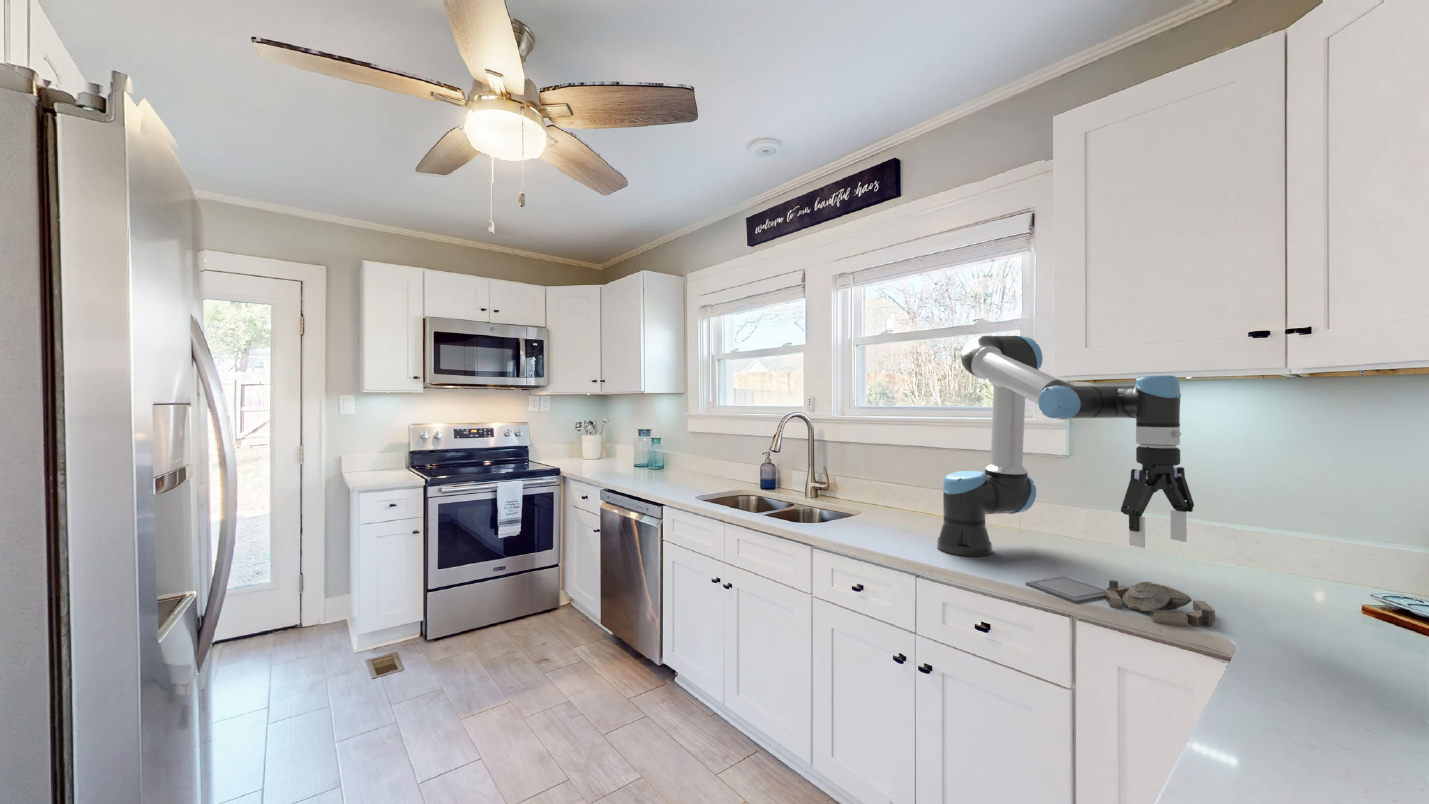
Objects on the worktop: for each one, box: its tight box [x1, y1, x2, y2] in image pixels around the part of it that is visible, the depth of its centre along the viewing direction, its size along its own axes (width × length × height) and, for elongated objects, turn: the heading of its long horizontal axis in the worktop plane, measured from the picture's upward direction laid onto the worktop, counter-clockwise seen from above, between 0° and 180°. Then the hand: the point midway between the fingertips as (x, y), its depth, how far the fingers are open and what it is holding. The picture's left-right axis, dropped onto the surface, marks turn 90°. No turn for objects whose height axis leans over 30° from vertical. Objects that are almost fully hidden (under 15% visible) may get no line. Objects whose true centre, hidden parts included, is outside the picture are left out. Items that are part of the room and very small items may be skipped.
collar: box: [1104, 579, 1216, 628], centre depth 121 cm, size 20×17×3 cm
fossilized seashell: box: [1121, 581, 1193, 612], centre depth 121 cm, size 11×11×7 cm
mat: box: [1025, 575, 1106, 604], centre depth 133 cm, size 13×13×1 cm
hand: (1158, 543), depth 121 cm, fingers open, 13 cm apart
